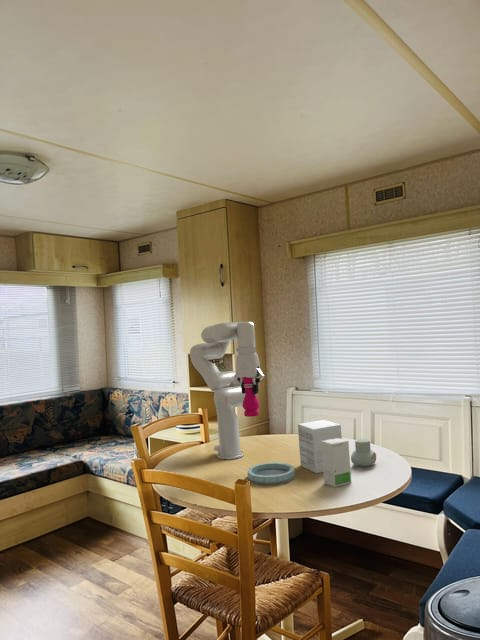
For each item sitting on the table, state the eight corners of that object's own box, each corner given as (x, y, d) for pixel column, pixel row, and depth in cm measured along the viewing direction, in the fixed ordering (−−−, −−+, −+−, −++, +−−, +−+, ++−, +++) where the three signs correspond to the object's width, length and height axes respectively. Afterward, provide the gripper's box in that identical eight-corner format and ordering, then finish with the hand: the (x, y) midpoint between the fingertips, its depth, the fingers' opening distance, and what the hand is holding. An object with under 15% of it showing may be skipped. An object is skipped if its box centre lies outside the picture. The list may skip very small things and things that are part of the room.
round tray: (239, 481, 186) (238, 473, 186) (264, 468, 200) (263, 460, 200) (279, 488, 175) (279, 479, 175) (302, 473, 190) (302, 465, 190)
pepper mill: (242, 414, 208) (239, 368, 208) (259, 412, 208) (255, 366, 208) (244, 417, 200) (240, 369, 201) (261, 416, 201) (257, 368, 201)
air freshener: (358, 460, 202) (356, 436, 202) (377, 462, 198) (376, 437, 198) (350, 468, 192) (348, 443, 192) (370, 470, 188) (368, 444, 188)
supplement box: (327, 460, 206) (324, 419, 206) (344, 467, 193) (341, 424, 194) (299, 465, 201) (296, 423, 201) (315, 473, 189) (312, 429, 189)
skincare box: (334, 488, 171) (331, 444, 171) (322, 483, 177) (319, 441, 177) (352, 483, 175) (349, 440, 175) (340, 478, 181) (337, 437, 181)
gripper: (225, 352, 206) (228, 394, 206) (259, 351, 196) (262, 395, 196) (236, 350, 212) (239, 391, 212) (268, 349, 203) (271, 392, 203)
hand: (250, 393), depth 204 cm, fingers closed on pepper mill, 5 cm apart
